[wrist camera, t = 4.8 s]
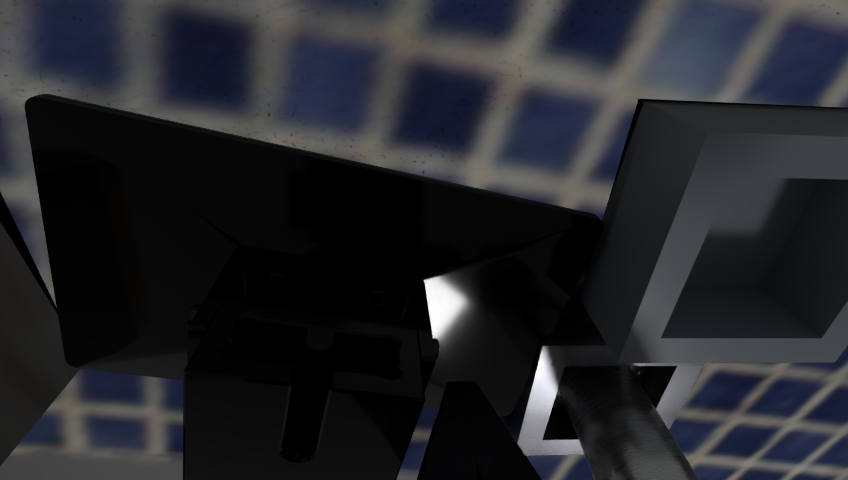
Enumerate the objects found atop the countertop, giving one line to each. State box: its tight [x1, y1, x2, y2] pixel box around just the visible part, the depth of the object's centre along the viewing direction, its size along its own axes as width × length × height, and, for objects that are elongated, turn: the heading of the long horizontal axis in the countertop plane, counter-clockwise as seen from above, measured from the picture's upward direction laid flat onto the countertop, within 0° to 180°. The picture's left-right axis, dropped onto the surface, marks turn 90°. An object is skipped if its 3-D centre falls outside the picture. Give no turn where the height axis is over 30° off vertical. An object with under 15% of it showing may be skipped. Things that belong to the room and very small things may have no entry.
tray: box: [580, 99, 848, 363], centre depth 10 cm, size 6×6×2 cm
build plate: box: [25, 94, 604, 480], centre depth 9 cm, size 12×7×5 cm, turn 75°
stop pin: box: [558, 366, 699, 480], centre depth 11 cm, size 3×3×7 cm
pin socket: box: [508, 322, 704, 455], centre depth 14 cm, size 5×5×1 cm
